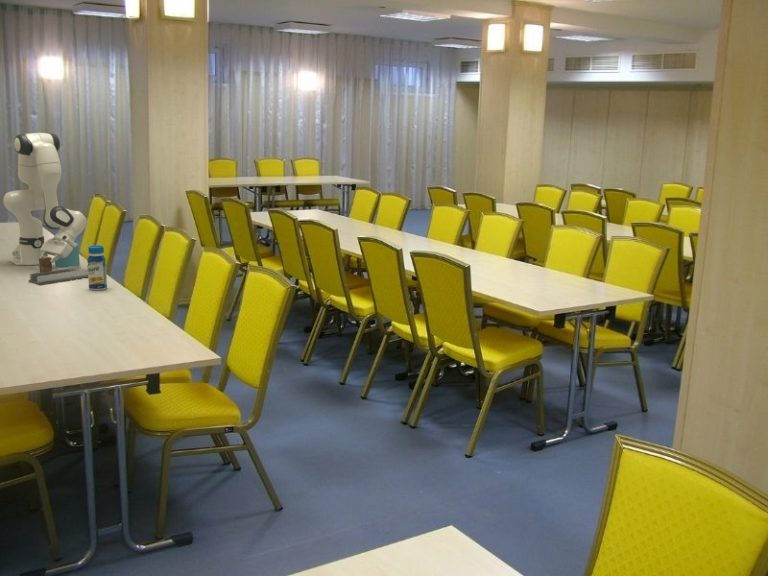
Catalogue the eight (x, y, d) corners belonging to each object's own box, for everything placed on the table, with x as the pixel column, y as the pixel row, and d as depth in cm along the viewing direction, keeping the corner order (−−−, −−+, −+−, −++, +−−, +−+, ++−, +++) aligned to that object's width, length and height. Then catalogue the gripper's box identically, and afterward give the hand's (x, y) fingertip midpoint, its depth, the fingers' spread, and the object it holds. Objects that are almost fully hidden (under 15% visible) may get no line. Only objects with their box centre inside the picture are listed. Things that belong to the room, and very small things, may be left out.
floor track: (28, 281, 397) (28, 273, 396) (78, 274, 417) (78, 266, 416) (40, 285, 390) (39, 277, 389) (90, 277, 410) (90, 269, 409)
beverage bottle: (111, 288, 388) (109, 246, 384) (97, 291, 381) (95, 248, 376) (98, 286, 392) (96, 244, 388) (84, 289, 385) (82, 246, 380)
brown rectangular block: (39, 276, 410) (38, 258, 409) (49, 274, 414) (48, 256, 412) (43, 276, 409) (41, 259, 407) (52, 275, 412) (51, 257, 410)
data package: (79, 265, 440) (78, 242, 438) (79, 266, 436) (78, 244, 434) (55, 266, 436) (53, 243, 433) (55, 267, 431) (54, 245, 429)
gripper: (48, 233, 420) (30, 254, 414) (69, 238, 407) (52, 260, 402) (56, 241, 424) (39, 262, 419) (78, 246, 411) (61, 268, 406)
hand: (46, 261), depth 410 cm, fingers open, 8 cm apart
